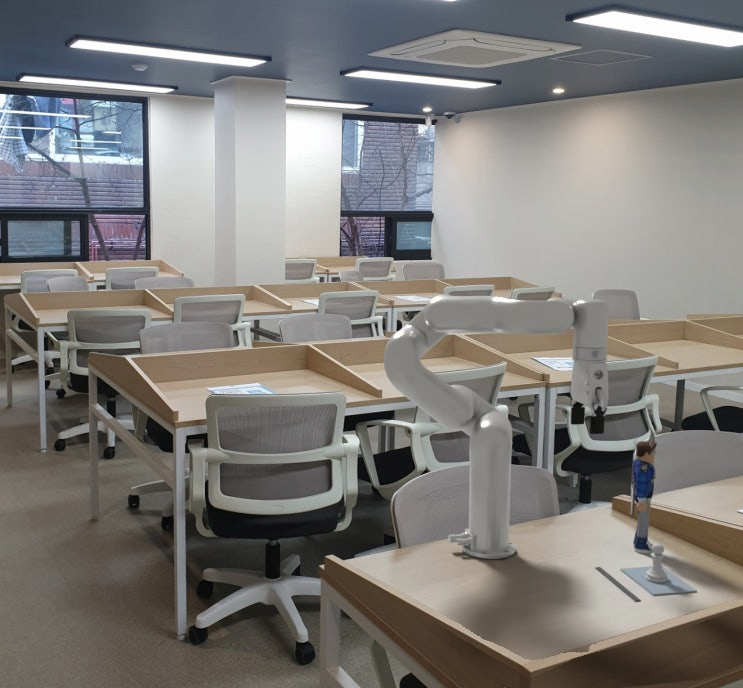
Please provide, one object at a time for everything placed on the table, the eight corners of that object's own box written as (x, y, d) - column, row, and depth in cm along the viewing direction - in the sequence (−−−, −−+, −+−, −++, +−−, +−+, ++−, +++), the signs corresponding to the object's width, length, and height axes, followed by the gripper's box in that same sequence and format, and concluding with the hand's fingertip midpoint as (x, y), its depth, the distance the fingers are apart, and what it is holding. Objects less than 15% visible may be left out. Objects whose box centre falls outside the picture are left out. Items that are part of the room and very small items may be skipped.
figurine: (656, 558, 198) (662, 431, 194) (629, 556, 199) (635, 430, 195) (651, 542, 208) (657, 421, 204) (625, 540, 209) (631, 420, 205)
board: (635, 601, 174) (635, 600, 174) (595, 568, 191) (595, 566, 191) (702, 595, 177) (702, 594, 177) (656, 563, 194) (656, 562, 194)
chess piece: (641, 574, 187) (643, 539, 186) (662, 574, 187) (664, 539, 186) (650, 583, 182) (651, 547, 181) (671, 583, 182) (673, 547, 181)
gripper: (623, 359, 185) (620, 436, 187) (588, 349, 201) (585, 420, 204) (591, 360, 183) (588, 438, 185) (558, 349, 200) (555, 421, 202)
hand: (586, 428), depth 194 cm, fingers open, 9 cm apart
